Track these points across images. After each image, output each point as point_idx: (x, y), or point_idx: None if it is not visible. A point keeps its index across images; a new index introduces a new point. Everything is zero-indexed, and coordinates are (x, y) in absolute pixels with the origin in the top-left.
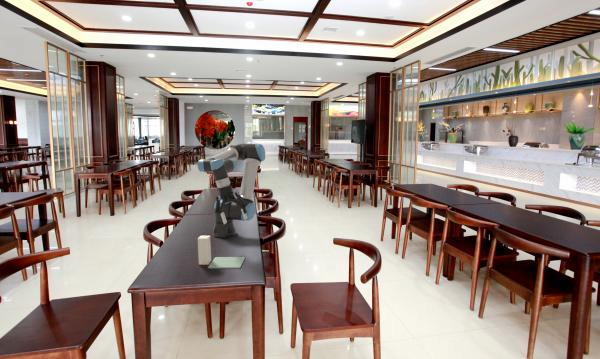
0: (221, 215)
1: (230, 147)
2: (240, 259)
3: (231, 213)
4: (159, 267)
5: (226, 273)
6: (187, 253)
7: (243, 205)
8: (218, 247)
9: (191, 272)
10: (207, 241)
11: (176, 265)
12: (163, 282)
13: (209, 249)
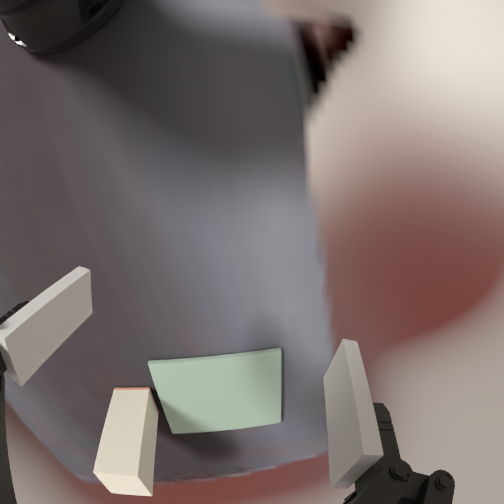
0: (29, 366)
1: None
2: (267, 374)
3: None
4: (33, 414)
5: (245, 444)
6: None
7: (387, 494)
8: (91, 214)
9: None
10: (152, 484)
11: (61, 408)
12: None
13: (148, 439)
